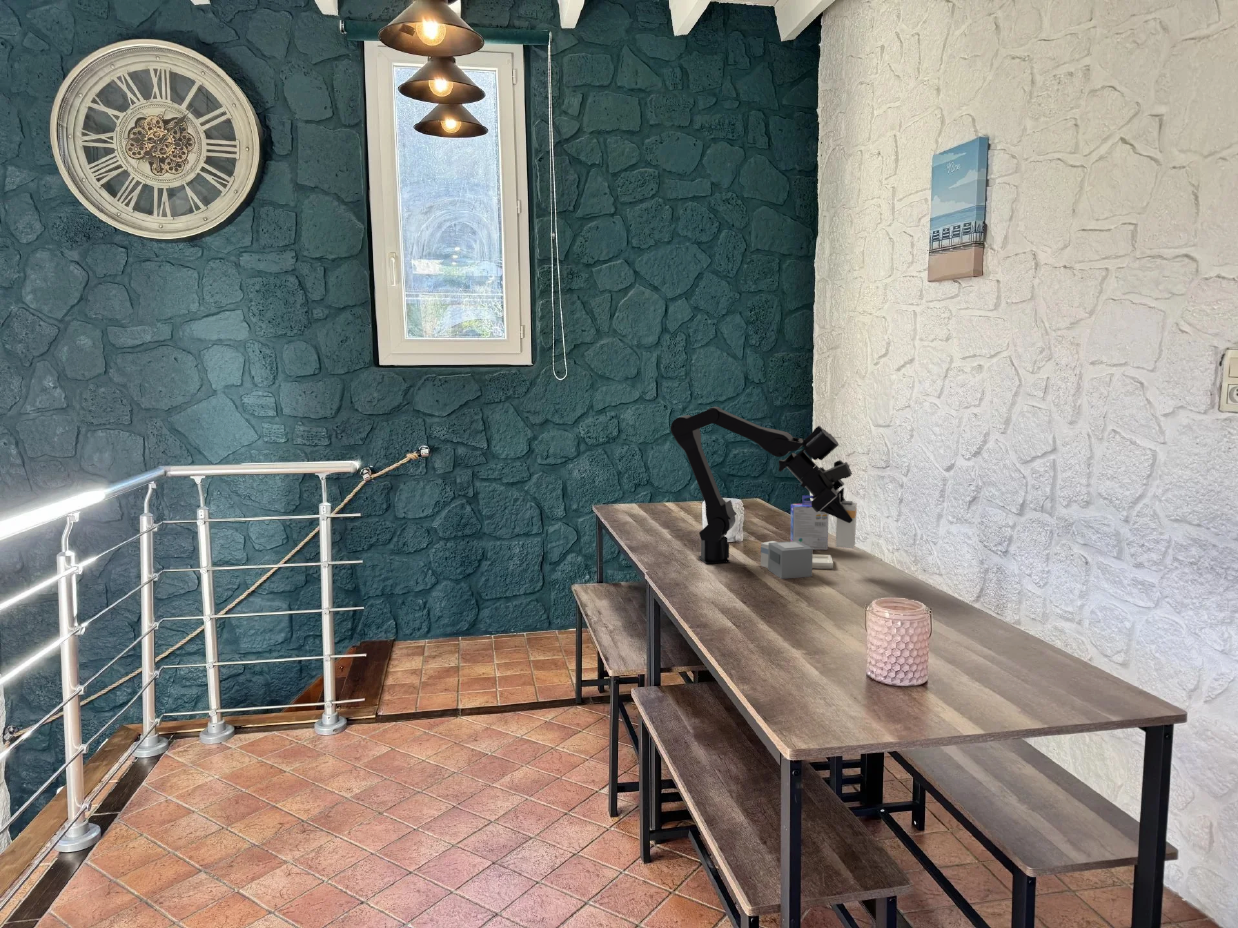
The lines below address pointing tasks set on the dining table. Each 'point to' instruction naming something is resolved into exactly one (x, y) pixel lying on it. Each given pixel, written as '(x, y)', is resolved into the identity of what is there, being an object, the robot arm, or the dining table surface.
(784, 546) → the block
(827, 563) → the tray
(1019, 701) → the dining table surface
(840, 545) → the block
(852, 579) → the dining table surface
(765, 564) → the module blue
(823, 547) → the ink cartridge box
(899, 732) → the dining table surface
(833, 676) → the dining table surface
